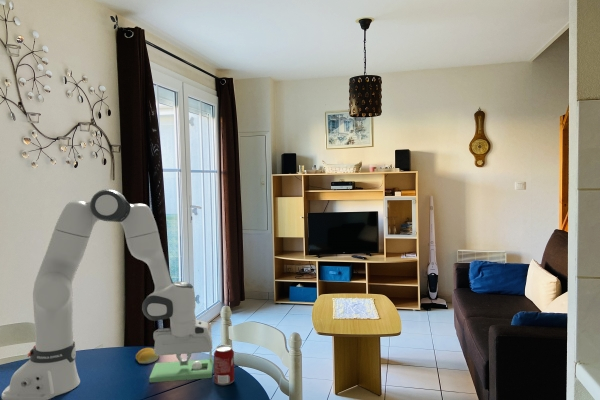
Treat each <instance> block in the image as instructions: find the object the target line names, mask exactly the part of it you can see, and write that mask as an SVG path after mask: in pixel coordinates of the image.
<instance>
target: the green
mask: <svg viewBox="0 0 600 400" xmlns="http://www.w3.org/2000/svg"><path fill="white" fill-rule="evenodd" d="M208 330H209V331H210V333H211V334H212V323H211V322H208ZM212 352H213V349H212V350H211V351H210V352H209V359H196V360H189V364H188V365H183V366H180V361H179V360H178V361H169V362H167V361H166V362H155V364H154V366H153V367H152V371H151V373H150V375H149V378H148V380H149V383H159V382H172V381H173V382H174V381H175V382H176V381H186V379H187V380H199V379H211V378H212V377H213V372H214V358H213V355H212V354H213V353H212ZM195 361H200V362H201V363H202V368H201V369H200V370H196V371H194V370H193V369H192V364H193V362H195Z"/></svg>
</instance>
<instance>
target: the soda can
mask: <svg viewBox="0 0 600 400" xmlns="http://www.w3.org/2000/svg"><path fill="white" fill-rule="evenodd" d="M213 374H214V376H213V378H214V383H215V384H217V385H218V386H223V387H224V386H228V385H231V384H232V383H233V382H234V381H235V351H234V350H233V346H232V345H229V344H222V345H221V344H220V345H218V346H216V347H215V351H214V352H213Z"/></svg>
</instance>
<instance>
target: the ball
mask: <svg viewBox="0 0 600 400" xmlns="http://www.w3.org/2000/svg"><path fill="white" fill-rule="evenodd" d="M201 368H202V363H201V362H200V361H195V362H193V364H192V369H193V370H194V371H196V370H200V369H201Z"/></svg>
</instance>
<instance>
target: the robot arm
mask: <svg viewBox="0 0 600 400" xmlns="http://www.w3.org/2000/svg"><path fill="white" fill-rule="evenodd" d="M154 217H155V216H154V214H153V212H152V210H151V208H150V206H148V205H147V204H145V203H129V202H128V201H127V199H126V197H125V196H124V195H123V194H122V193H121V191H118V190H116V189H112V188H105V189H101V190H99V191H97V192H96V193H95V194H94V195H93V196H92V198H91V199H90V201H83V200H72V201H69V202H68V203H66V204H65V207H64V208H63V209H62V211H61V213H60V215H59V217H58V219H57V222H55V223H56V224H55V226H54V230H53V232H52V234H51V238H50V240H49V243H48V246H47V249H46V252H45V254H44V257H43V260H42V261H41V262H42V263H41V265H40V267H39V270H38V272H37V275H36V278H35V281H34V285H33V291H32V301H33V316H34V318H33V319H34V333H35V334H34V337H35V345H34V346H33V347H32V349H31V350H29V352H28V353H27V358H29V360H27V361H26V362H25V363H24V364H22V365H21V366H20V367H19V368H18V369H17V370H16V371H15V372H14V373H12V376H11V378H10V383H9V385H8V386H7V387H5V389H4V390H3V391H2V393H1V400H51V399H52V398H54V397H56V396H60V395H63V394H66V393H68V392H70V391H72V390H73V389H75V388H76V387H78V386H79V385H80V384H81V379H80V377H79V374H78V369H77V364H76V356H77V354H76V353H77V351H76V349H77V348H76V343H75V340H74V321H73V320H74V319H73V318H74V317H73V316H74V314H73V311H74V309H73V305H74V304H73V302H74V301H73V299H74V298H73V281H74V278H75V276H76V274H77V271H78V268H79V267H80V264H81V262H82V260H83V257H84V255H85V251H86V249H87V246H88V243H89V240H90V237H91V234H92V231H93V228H94V227H95V225H96V223H97V222H99V221H103V222H109V223H110V222H113V223H120V224H121V226H122V229H123V232H124V235H125V236H124V237H125V240H126V241H125V242H126V244H127V248H128V251H129V252H130V254H131V256H133V258H135V259H137V260H140V261H142V262H144V263H145V264H147V266H148V268H149V271H150V274H151V277H152V280H153V284H154V290H153V292H152V293H150V294H149V295H147V296H146V298H145V299H144V300H143V302H142V305H141V310H142V313H143V315H144V316H145V317H146V318H147V319H148V320H150V321H162V320H167V319H169V320H170V321H169V322H170V327H166V328H165V327H164V328H158V329H156V330H154V331H153V335H152V336H153V340H154V348H153V349H154V353H155V354H156V355H157V356H159V357H160V356H169V355H170V356H171V355H175V356H176V359H177V360H178V362H179V361H180V366H183V365H188V364H189V361H190V359H191V356H192V354H200V353H210V351H211V350H212V351H213V337H212V332H211V333H210V331H209V330H208V324H209V322H207V321H203V320H199V319H197V317H196V313H195V311H196V295H195V293H196V292H195V289H194V286H193V285H192V283H189V282H187V281H182V280H181V281H174V282H173V280H172V276H171V273H170V271H169V267H168V263H167V260H166V257H165V254H164V252H163V251H164V250H163V247H162V243H161V239H160V233H159V229H158V225H157V222H156V220H155V218H154ZM184 354H185V355H186V357H187V358H182V356H181V355H184Z"/></svg>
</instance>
